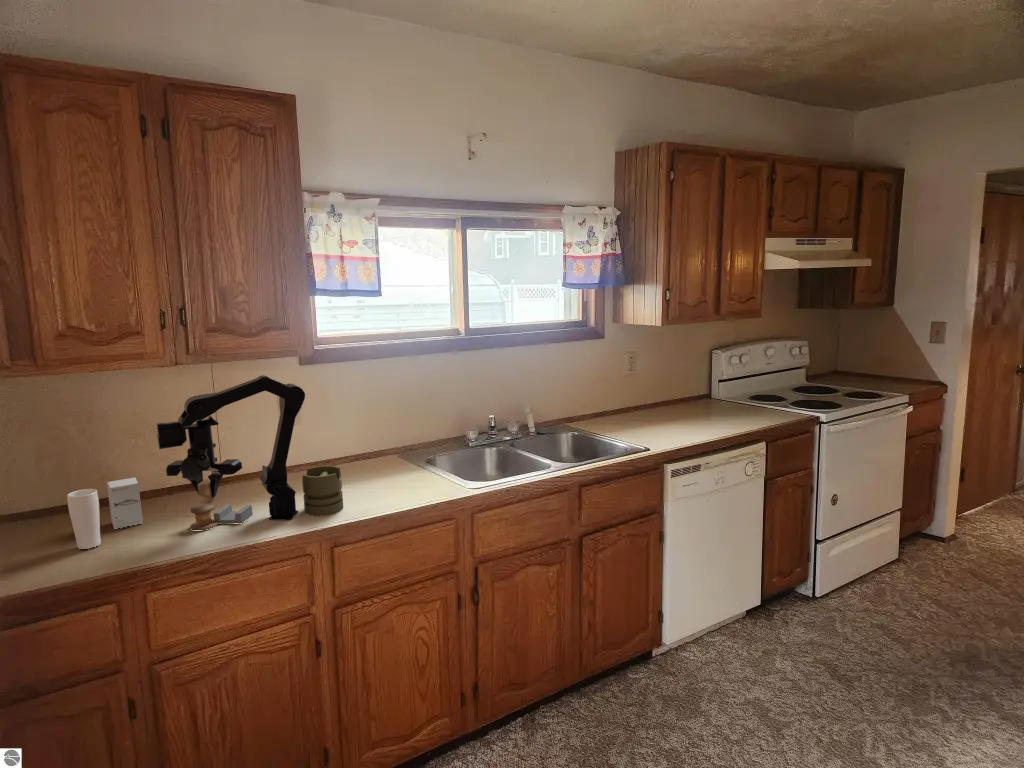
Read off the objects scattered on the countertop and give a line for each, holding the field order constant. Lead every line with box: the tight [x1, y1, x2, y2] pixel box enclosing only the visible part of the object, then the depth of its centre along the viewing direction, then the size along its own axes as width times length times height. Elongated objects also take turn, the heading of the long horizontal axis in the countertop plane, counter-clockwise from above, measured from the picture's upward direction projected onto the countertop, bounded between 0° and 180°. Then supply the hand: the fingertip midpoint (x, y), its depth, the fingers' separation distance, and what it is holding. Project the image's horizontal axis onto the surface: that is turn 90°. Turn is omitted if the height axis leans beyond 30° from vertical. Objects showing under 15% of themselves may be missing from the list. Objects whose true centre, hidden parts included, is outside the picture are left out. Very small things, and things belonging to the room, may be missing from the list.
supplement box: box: [106, 477, 144, 530], centre depth 189 cm, size 7×7×13 cm
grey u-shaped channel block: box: [213, 504, 254, 524], centre depth 192 cm, size 8×7×3 cm
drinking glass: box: [66, 488, 102, 550], centre depth 173 cm, size 7×7×15 cm
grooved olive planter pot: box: [302, 465, 344, 517], centre depth 198 cm, size 11×12×11 cm
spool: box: [189, 503, 219, 531], centre depth 186 cm, size 7×7×6 cm
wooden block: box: [197, 478, 219, 504], centre depth 182 cm, size 3×4×6 cm, turn 178°
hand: (207, 497), depth 181 cm, fingers closed on wooden block, 3 cm apart
